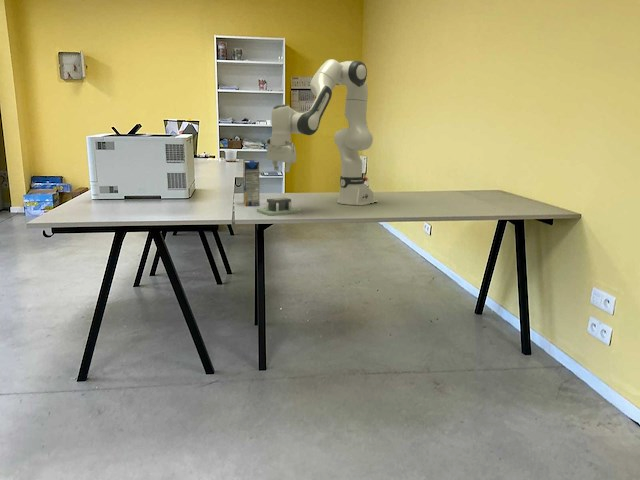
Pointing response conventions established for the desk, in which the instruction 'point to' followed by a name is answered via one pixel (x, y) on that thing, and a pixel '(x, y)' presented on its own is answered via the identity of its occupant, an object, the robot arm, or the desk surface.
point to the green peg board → (277, 212)
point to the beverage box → (251, 182)
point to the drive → (282, 203)
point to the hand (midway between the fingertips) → (281, 171)
